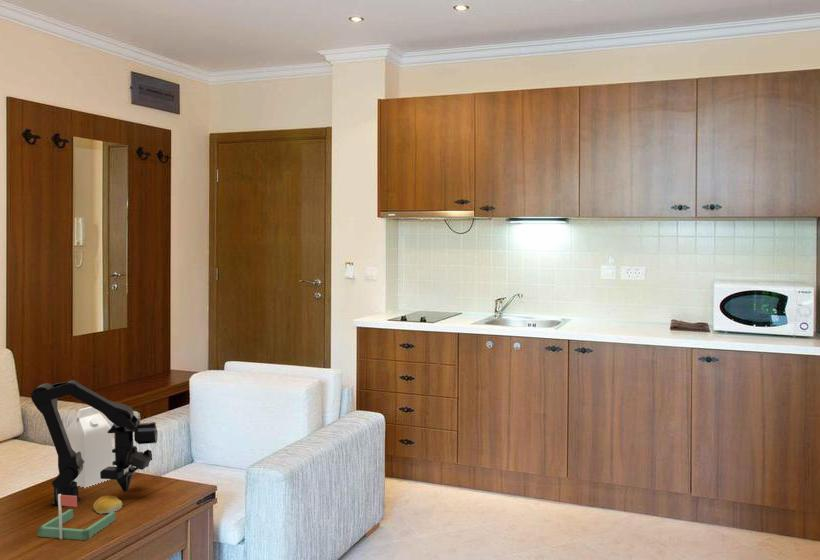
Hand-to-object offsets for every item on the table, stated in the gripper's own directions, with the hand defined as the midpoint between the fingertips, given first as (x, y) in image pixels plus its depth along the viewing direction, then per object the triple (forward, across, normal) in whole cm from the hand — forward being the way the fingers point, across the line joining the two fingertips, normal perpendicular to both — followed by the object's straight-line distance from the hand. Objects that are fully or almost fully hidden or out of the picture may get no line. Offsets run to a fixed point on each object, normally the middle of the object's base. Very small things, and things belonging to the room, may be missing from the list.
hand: (125, 491), depth 235 cm
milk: (+2, +13, +22) cm, 26 cm away
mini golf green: (+2, -24, 0) cm, 24 cm away
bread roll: (+2, -10, 0) cm, 10 cm away
